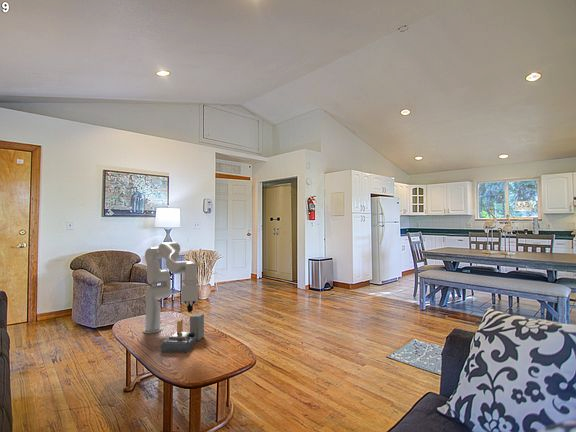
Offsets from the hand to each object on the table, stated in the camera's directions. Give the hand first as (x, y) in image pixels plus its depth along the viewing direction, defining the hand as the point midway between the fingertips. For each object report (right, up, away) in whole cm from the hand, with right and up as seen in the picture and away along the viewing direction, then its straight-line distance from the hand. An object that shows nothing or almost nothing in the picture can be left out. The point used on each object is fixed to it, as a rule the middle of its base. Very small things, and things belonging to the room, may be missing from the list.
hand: (190, 311), depth 189 cm
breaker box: (-7, -22, 0) cm, 23 cm away
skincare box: (0, -23, +15) cm, 27 cm away
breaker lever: (-6, -14, 0) cm, 15 cm away
